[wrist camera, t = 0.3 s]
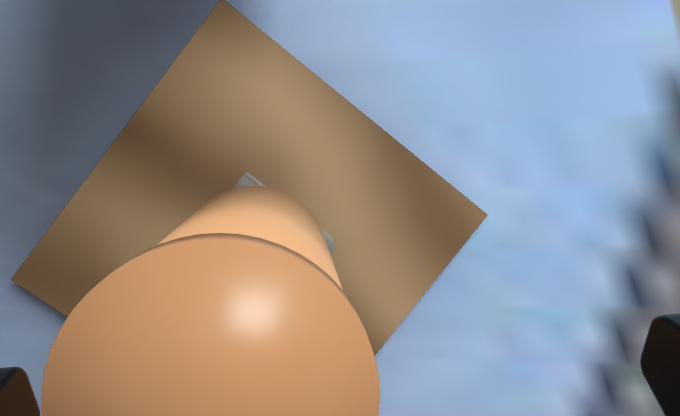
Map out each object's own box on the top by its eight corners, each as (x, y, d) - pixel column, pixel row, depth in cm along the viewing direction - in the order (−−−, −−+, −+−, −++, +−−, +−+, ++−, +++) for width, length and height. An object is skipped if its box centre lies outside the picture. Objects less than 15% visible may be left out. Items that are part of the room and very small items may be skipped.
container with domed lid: (269, 361, 21) (249, 607, 10) (142, 274, 20) (-29, 443, 9) (362, 243, 20) (443, 368, 10) (238, 149, 19) (177, 171, 9)
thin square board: (288, 451, 24) (288, 495, 21) (20, 274, 22) (-21, 296, 19) (481, 212, 24) (508, 223, 21) (224, 2, 21) (213, -18, 18)
